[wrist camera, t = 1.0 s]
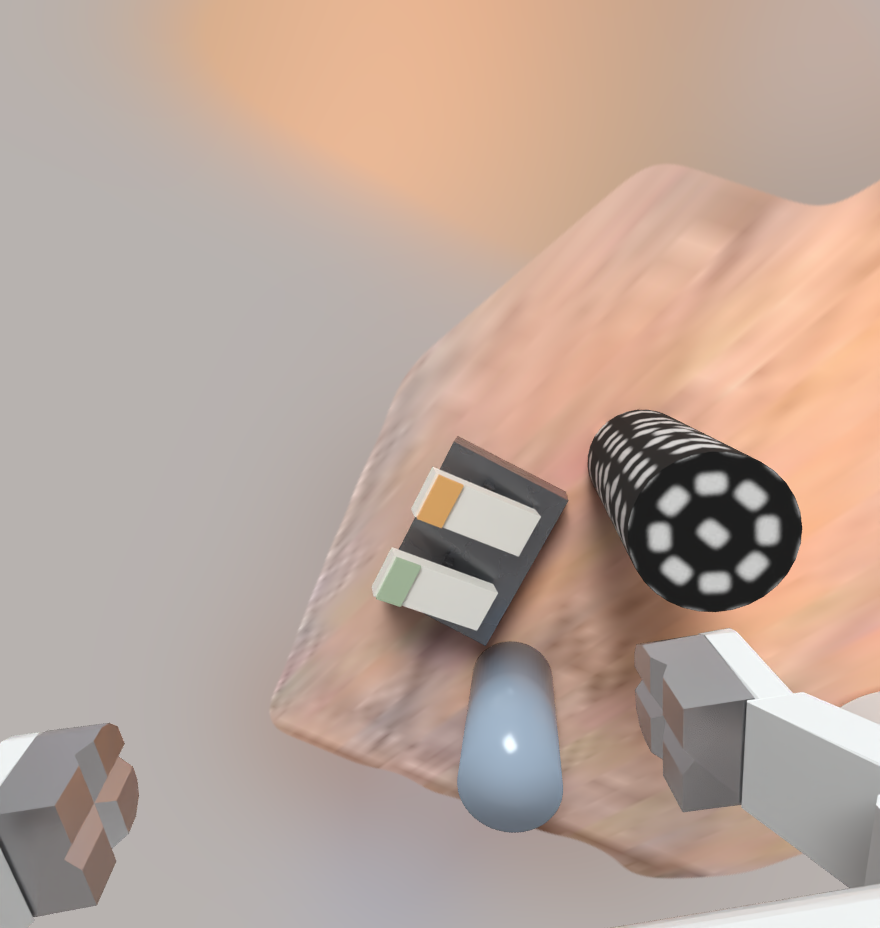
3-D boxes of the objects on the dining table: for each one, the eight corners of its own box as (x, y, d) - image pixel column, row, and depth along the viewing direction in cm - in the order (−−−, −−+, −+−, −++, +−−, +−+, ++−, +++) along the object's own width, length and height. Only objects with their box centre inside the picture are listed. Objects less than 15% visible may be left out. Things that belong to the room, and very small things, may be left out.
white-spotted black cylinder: (717, 455, 51) (839, 525, 31) (644, 531, 52) (717, 643, 33) (636, 387, 50) (709, 416, 31) (566, 467, 52) (593, 541, 33)
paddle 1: (535, 509, 49) (542, 518, 48) (513, 548, 50) (519, 558, 49) (432, 466, 47) (436, 474, 45) (411, 508, 47) (414, 518, 46)
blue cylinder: (567, 665, 55) (582, 771, 42) (528, 728, 57) (531, 849, 43) (495, 627, 56) (486, 720, 42) (459, 691, 57) (439, 801, 43)
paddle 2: (493, 584, 51) (499, 595, 49) (472, 620, 52) (477, 633, 50) (391, 547, 48) (394, 557, 47) (371, 586, 49) (373, 598, 47)
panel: (565, 491, 53) (569, 505, 48) (487, 629, 56) (484, 655, 51) (457, 436, 53) (451, 444, 48) (385, 576, 56) (374, 597, 51)
